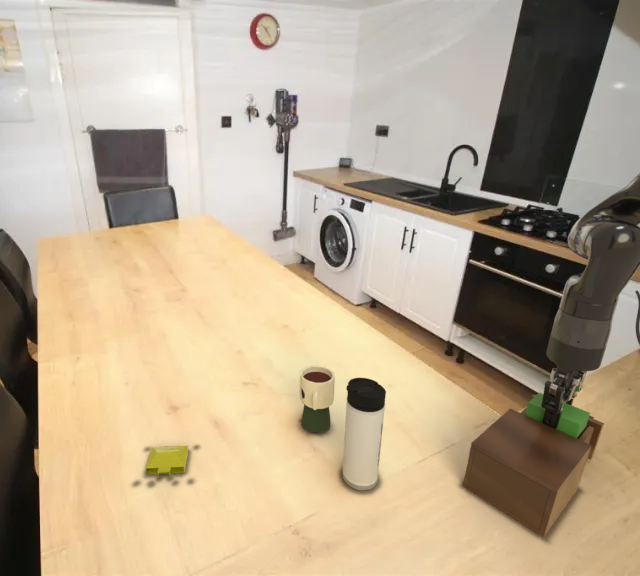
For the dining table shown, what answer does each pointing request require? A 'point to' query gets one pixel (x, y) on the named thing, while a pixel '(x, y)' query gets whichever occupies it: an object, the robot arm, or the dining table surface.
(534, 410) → the green block
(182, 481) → the dining table surface
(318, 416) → the character mug
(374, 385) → the travel mug
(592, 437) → the drawer
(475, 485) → the cabinet
